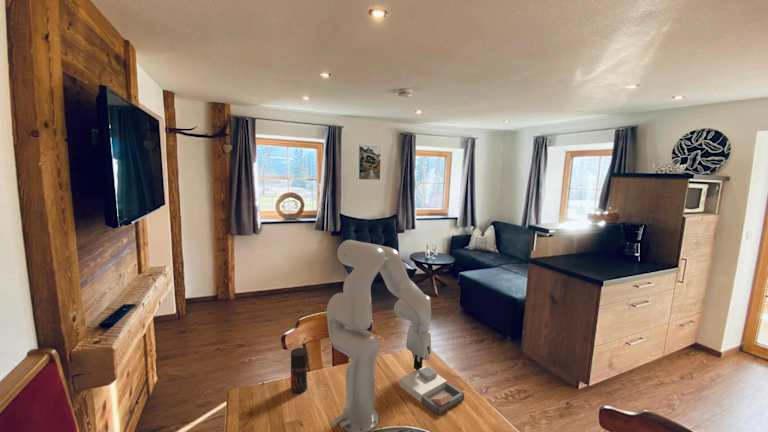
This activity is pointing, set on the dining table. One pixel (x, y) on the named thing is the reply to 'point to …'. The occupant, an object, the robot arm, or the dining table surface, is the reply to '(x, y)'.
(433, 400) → the terracotta tile
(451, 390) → the tray
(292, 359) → the deodorant
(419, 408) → the dining table surface
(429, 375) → the slate tile
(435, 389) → the board
